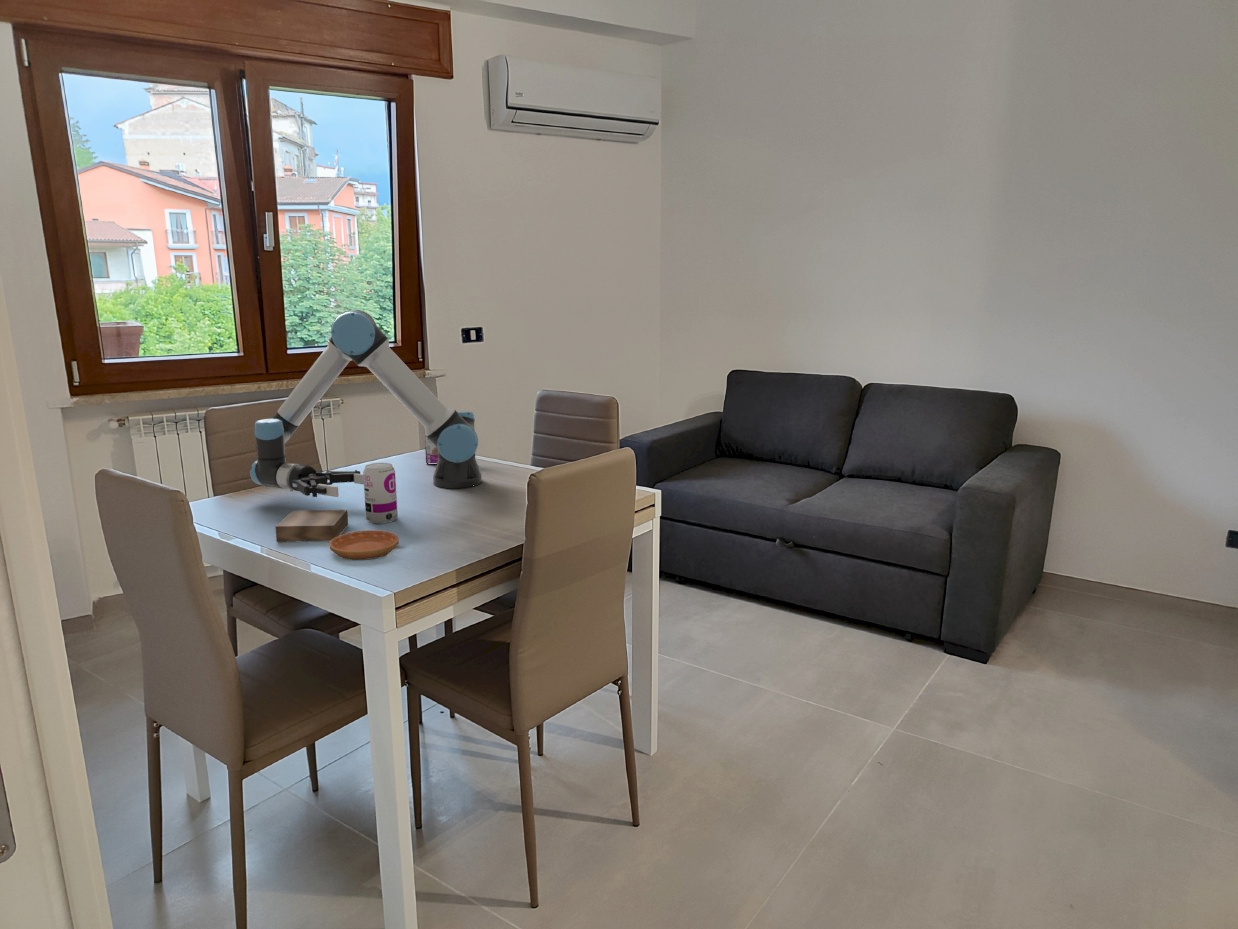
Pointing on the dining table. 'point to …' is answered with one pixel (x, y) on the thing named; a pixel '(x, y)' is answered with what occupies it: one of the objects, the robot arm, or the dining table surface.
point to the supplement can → (380, 492)
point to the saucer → (364, 544)
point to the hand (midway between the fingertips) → (355, 486)
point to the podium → (312, 525)
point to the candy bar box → (431, 451)
